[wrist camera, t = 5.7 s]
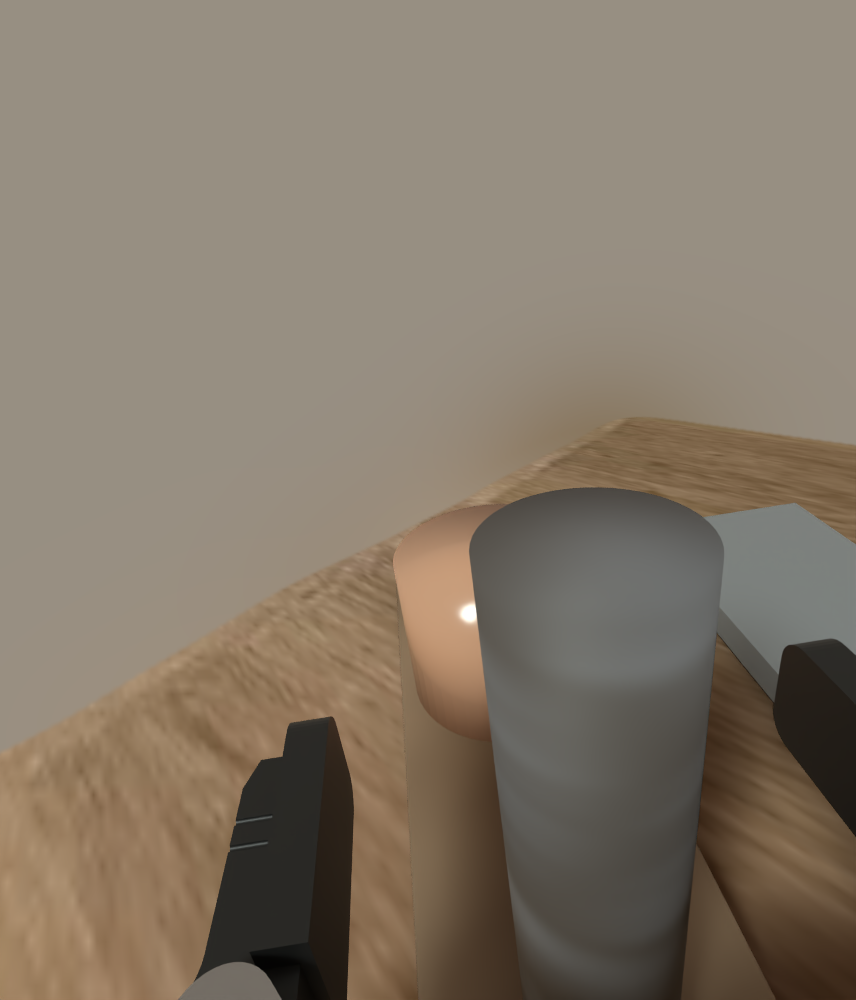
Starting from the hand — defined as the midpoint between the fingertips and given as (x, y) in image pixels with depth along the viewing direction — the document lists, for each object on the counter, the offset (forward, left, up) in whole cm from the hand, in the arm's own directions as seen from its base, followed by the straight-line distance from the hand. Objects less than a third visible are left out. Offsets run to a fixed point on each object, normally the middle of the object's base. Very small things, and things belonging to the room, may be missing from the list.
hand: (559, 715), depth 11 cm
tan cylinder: (0, -8, -6) cm, 10 cm away
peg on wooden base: (0, -6, -8) cm, 10 cm away
